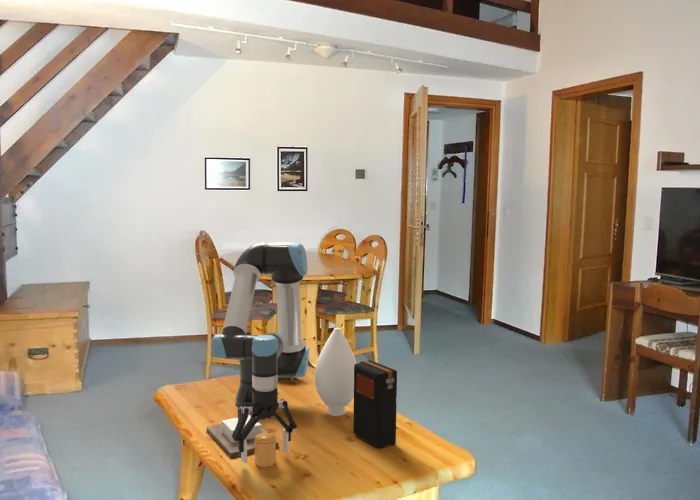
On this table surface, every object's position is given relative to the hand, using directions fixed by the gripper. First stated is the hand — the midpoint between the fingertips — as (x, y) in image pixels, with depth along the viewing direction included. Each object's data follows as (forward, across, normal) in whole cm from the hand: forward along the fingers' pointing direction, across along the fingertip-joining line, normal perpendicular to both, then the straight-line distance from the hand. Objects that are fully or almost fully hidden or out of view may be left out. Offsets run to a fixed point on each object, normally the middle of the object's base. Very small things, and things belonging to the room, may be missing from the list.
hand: (265, 456), depth 179 cm
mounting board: (+2, 0, -20) cm, 20 cm away
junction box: (0, 0, -20) cm, 20 cm away
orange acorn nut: (+2, 0, 0) cm, 2 cm away
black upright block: (+2, -38, +2) cm, 38 cm away
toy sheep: (+2, -40, -71) cm, 82 cm away
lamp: (+2, -39, -25) cm, 46 cm away
